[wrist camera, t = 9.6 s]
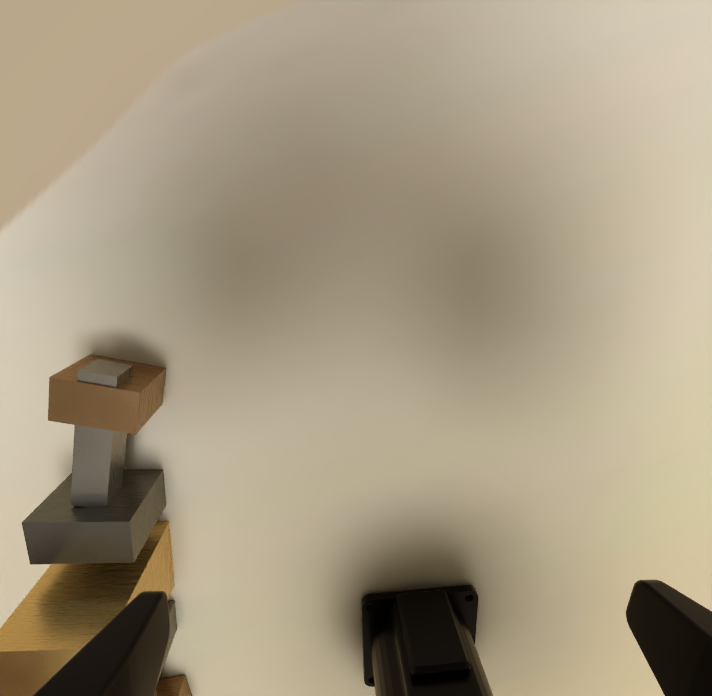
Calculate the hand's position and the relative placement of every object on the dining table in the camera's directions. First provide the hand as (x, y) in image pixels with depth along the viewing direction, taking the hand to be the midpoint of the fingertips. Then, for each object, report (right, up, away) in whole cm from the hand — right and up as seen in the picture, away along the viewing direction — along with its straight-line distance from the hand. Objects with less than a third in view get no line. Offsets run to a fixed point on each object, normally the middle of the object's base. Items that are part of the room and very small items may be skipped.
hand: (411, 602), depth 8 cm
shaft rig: (-13, -6, +13) cm, 19 cm away
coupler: (-13, -6, +13) cm, 19 cm away
